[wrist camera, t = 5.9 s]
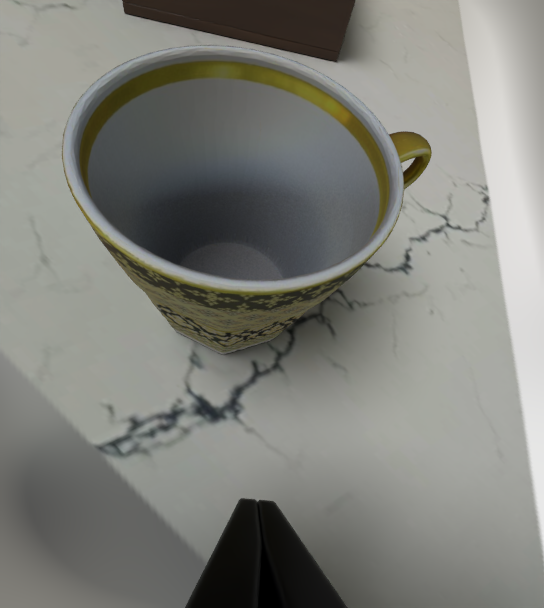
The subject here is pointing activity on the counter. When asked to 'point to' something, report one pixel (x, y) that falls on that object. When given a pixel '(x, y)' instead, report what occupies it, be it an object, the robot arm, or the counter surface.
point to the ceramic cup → (234, 185)
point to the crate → (259, 21)
